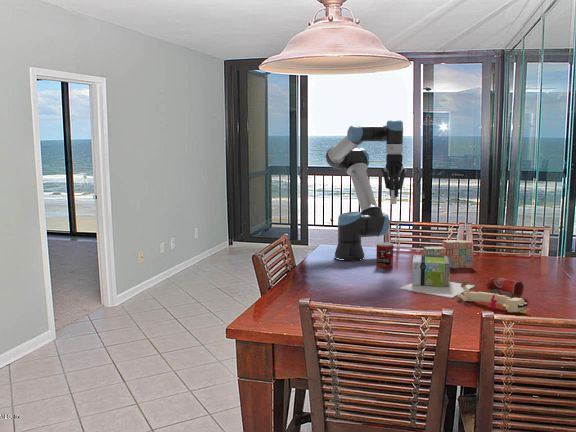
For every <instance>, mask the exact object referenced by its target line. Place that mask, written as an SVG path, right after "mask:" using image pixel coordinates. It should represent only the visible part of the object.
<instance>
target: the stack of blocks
mask: <svg viewBox="0 0 576 432" xmlns="http://www.w3.org/2000/svg"><path fill="white" fill-rule="evenodd" d="M441 243H442V244H441V245H442V246H423V251H422V253H423V254H422V255H425V256H448V259H449V265H450V269H465V268H466V269H467V268H469V269H472V268H473V267H472V266H473V265H472V264H473V252H474V251H473V250H474V249H473V242H472V241H470V240H468V239H467V240H466V239H463V240H462V239H454V240H453V239H451V240H450V239H448V240H446V239H443V240H442V242H441Z"/></svg>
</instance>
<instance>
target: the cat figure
mask: <svg viewBox="0 0 576 432" xmlns="http://www.w3.org/2000/svg"><path fill="white" fill-rule="evenodd" d="M466 285H469V282H468V280H463V281H462V283H461V287H462V288H463V290H465V292H463V293H461V294H458V295H457V297H456V300H457V301H458V302H462V300H463V302H472V303H473V302H476V303H477V302H479V303H480V302H483V303H484V302H485V303H490V304H489V305H490V308H491V309H492V311H495V308H496V305H498V306H499V305H500V306H502V308H505V310H507V313H520V314H526V313H527V311H529V310H530V309H529V308H526V307H528V306H529V304H528V303H527V302H525V299H524V298H521V297H520V298H510V297H507V296H505V294H504V293H503V292H500V293H502V295H499V294H494V293H491V292H483V291H471V290H470V289H469V290H468V288H467V287H466ZM525 308H526V309H525Z"/></svg>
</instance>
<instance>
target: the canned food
mask: <svg viewBox="0 0 576 432" xmlns="http://www.w3.org/2000/svg"><path fill="white" fill-rule="evenodd" d="M375 256H376V258H375V259H376V260H375V261H376V267H377V266H378V267H377V268H379V267H382V268H381V269H390V267H391V268H393V266H394V243H393V242H388V241H387V242H385V241H384V242H383V241H381V242H377V243H376V255H375Z"/></svg>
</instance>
